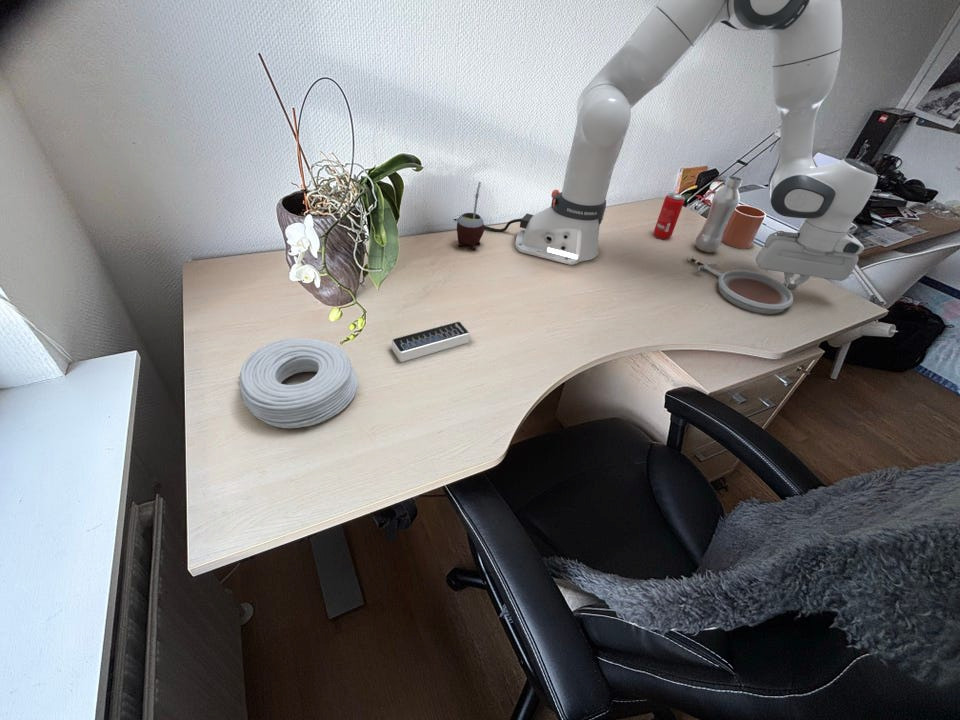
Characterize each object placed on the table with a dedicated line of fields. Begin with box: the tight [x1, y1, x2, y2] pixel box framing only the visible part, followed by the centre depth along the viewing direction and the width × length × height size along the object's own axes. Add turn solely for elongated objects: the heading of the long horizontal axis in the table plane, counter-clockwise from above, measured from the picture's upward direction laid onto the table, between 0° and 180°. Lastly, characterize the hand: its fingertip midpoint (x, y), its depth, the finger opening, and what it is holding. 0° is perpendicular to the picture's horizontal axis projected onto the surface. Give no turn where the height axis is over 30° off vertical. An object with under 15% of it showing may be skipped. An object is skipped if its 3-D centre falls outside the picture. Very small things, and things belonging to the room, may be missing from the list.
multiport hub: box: [391, 321, 470, 363], centre depth 87 cm, size 4×14×2 cm, turn 120°
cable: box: [238, 337, 358, 429], centre depth 74 cm, size 18×18×6 cm
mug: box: [721, 204, 767, 250], centre depth 133 cm, size 12×9×10 cm
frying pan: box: [686, 255, 794, 315], centre depth 114 cm, size 17×3×28 cm
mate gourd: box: [456, 181, 485, 252], centre depth 116 cm, size 8×8×15 cm
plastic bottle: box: [695, 175, 743, 253], centre depth 124 cm, size 6×7×20 cm
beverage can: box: [653, 192, 686, 240], centre depth 131 cm, size 5×5×12 cm
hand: (788, 288), depth 113 cm, fingers closed
